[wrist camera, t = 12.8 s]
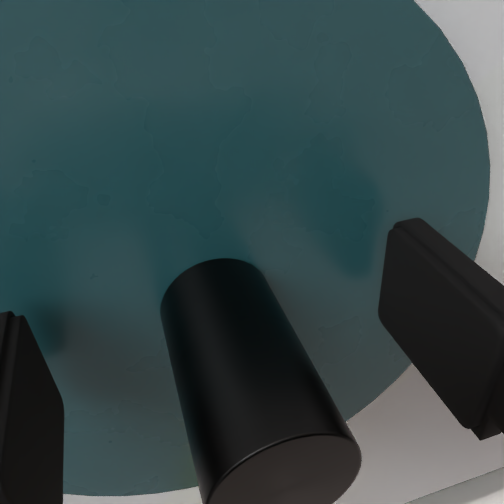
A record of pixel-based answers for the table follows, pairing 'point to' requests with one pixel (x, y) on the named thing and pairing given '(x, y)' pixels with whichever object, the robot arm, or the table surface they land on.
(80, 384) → the pot lid
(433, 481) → the table surface
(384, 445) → the table surface
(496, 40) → the table surface
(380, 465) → the table surface
